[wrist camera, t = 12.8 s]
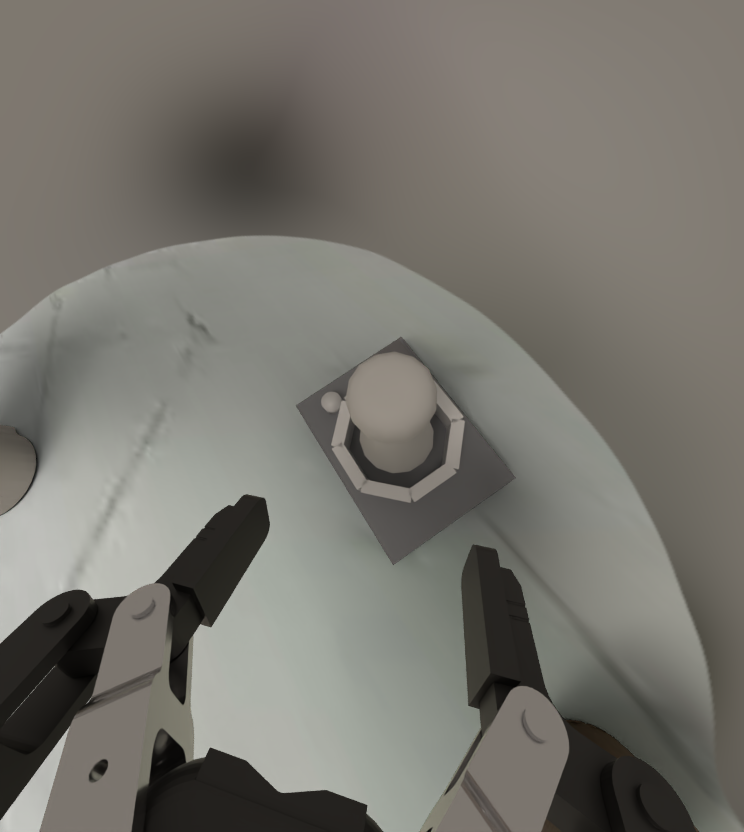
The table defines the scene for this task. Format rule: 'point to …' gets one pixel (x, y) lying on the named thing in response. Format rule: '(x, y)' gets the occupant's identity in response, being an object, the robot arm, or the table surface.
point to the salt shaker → (393, 410)
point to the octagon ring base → (417, 489)
